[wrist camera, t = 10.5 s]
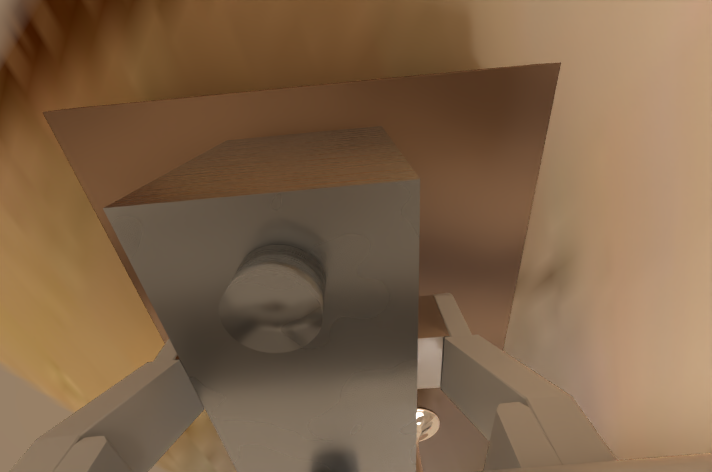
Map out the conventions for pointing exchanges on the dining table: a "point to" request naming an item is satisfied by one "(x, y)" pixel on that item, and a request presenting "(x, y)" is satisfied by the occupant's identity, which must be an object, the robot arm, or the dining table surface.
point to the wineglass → (425, 430)
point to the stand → (358, 110)
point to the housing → (290, 294)
